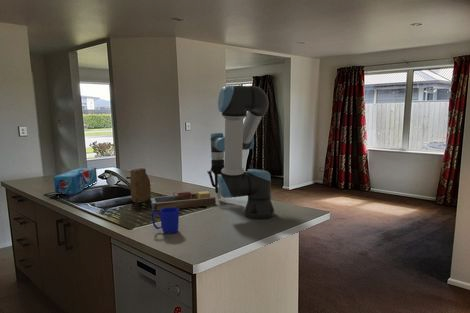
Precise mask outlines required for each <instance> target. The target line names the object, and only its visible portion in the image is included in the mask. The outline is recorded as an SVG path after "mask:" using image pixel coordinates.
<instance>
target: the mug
mask: <svg viewBox="0 0 470 313" xmlns="http://www.w3.org/2000/svg"><path fill="white" fill-rule="evenodd" d="M157 214H159V218H160V226H157V225H156V223H155V219H154V215H157ZM150 215H151V221H152V224H153V227H154V228H155V229H157V230H160V229H162V232H163V233H165V234H174V233H176V232H178V230H179V222H180V221H179V219H180V218H179V217H180V208H174V207H170V208H164V209H161V210H159V211H152V212H151V214H150Z"/></svg>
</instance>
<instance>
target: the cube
mask: <svg viewBox="0 0 470 313" xmlns="http://www.w3.org/2000/svg"><path fill="white" fill-rule="evenodd" d="M197 193H198V199H199V198H209V197H211V192H210V193H209V190H206V191H205V190H201V191H197Z"/></svg>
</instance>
